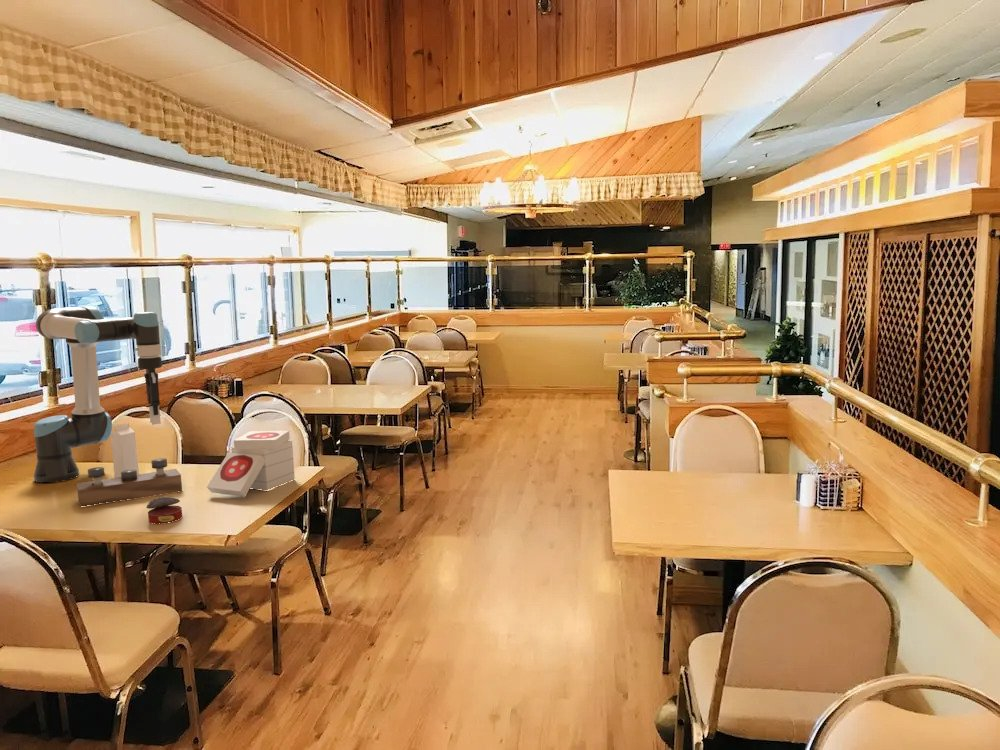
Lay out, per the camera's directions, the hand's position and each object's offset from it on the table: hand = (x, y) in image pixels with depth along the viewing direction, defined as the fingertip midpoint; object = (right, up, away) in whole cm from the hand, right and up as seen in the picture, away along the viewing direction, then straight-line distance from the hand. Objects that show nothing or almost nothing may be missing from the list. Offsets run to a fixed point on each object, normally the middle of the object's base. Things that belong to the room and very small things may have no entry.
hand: (155, 422), depth 276 cm
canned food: (+15, -29, -28) cm, 43 cm away
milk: (-17, -23, +16) cm, 33 cm away
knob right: (+1, -20, +3) cm, 20 cm away
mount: (-8, -25, -2) cm, 27 cm away
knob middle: (-8, -23, -2) cm, 25 cm away
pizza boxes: (+34, -24, +4) cm, 41 cm away
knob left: (-17, -22, -7) cm, 28 cm away
